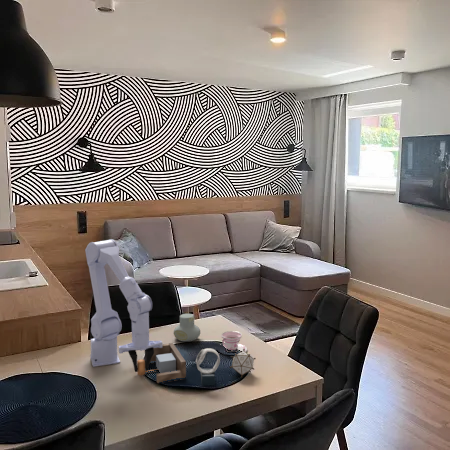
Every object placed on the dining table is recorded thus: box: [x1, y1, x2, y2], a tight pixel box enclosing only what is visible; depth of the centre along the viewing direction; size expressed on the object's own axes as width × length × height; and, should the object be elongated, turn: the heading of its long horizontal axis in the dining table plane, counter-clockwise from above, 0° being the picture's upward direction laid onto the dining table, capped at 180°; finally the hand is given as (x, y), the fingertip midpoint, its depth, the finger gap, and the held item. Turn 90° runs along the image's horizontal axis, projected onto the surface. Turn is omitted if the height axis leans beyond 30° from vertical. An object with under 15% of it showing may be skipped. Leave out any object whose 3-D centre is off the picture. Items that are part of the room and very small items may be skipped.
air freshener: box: [173, 313, 201, 343], centre depth 191 cm, size 11×8×10 cm
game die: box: [229, 349, 256, 378], centre depth 160 cm, size 9×8×10 cm
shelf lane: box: [150, 342, 187, 384], centre depth 163 cm, size 10×17×6 cm, turn 21°
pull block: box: [136, 353, 176, 376], centre depth 161 cm, size 13×6×4 cm, turn 111°
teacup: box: [221, 330, 248, 353], centre depth 180 cm, size 12×12×6 cm
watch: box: [195, 347, 221, 386], centre depth 154 cm, size 6×8×11 cm
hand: (141, 369), depth 160 cm, fingers open, 3 cm apart
